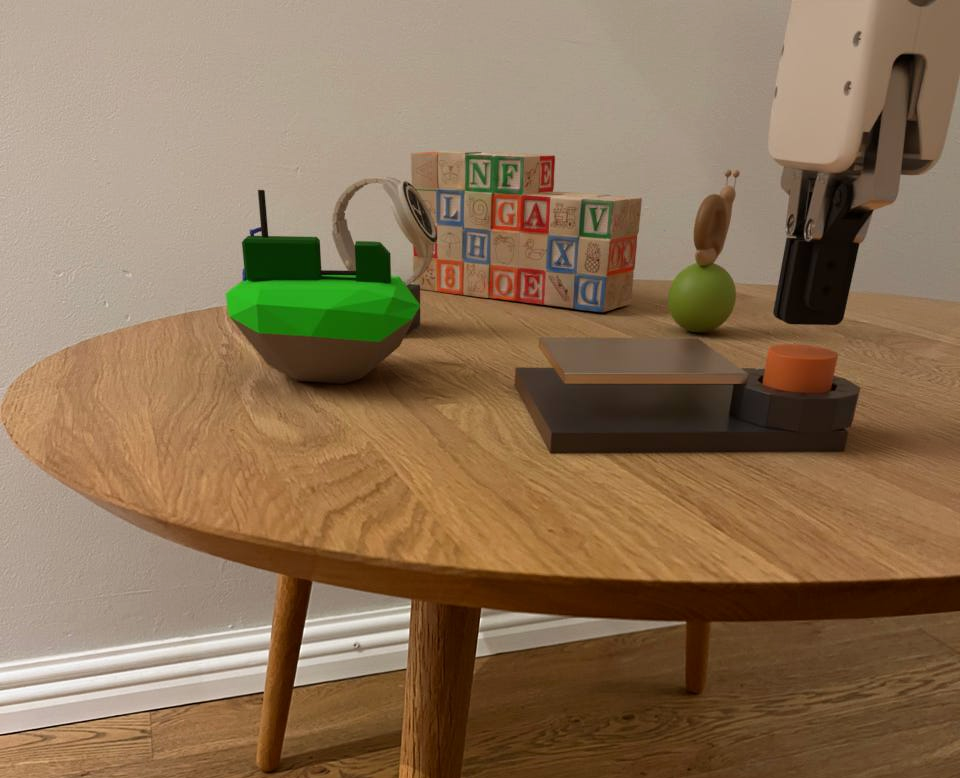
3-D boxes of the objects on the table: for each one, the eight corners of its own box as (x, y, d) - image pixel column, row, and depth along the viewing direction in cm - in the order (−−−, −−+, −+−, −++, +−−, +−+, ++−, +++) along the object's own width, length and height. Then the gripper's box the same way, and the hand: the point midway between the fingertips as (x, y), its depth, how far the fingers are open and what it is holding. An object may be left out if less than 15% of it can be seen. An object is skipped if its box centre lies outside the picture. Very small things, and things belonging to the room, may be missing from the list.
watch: (426, 339, 72) (426, 181, 66) (328, 332, 73) (320, 177, 68) (443, 325, 77) (444, 177, 71) (350, 319, 78) (344, 173, 73)
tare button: (813, 381, 53) (821, 344, 52) (841, 398, 49) (850, 359, 48) (752, 381, 52) (758, 343, 51) (776, 398, 49) (783, 358, 48)
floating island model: (222, 401, 55) (198, 197, 50) (247, 356, 65) (231, 183, 60) (423, 402, 56) (422, 202, 51) (418, 358, 66) (417, 187, 61)
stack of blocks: (632, 305, 87) (647, 158, 81) (603, 315, 83) (617, 160, 77) (446, 281, 97) (447, 148, 91) (410, 288, 93) (409, 149, 87)
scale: (769, 386, 62) (778, 340, 60) (868, 454, 50) (881, 398, 48) (514, 386, 60) (516, 338, 59) (550, 456, 48) (554, 398, 46)
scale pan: (696, 348, 58) (698, 338, 57) (747, 384, 50) (749, 373, 50) (538, 347, 57) (538, 337, 56) (564, 384, 49) (565, 373, 49)
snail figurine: (741, 329, 79) (767, 171, 73) (718, 341, 74) (743, 173, 68) (681, 321, 81) (701, 167, 75) (654, 333, 76) (673, 170, 70)
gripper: (1090, -159, 34) (949, 354, 43) (892, -83, 47) (816, 298, 56) (896, -173, 33) (794, 352, 42) (749, -92, 46) (695, 296, 55)
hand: (806, 320), depth 49 cm, fingers closed
